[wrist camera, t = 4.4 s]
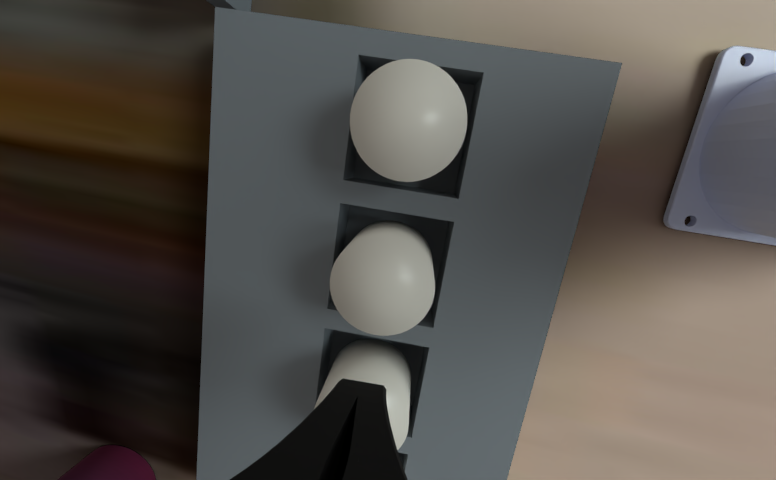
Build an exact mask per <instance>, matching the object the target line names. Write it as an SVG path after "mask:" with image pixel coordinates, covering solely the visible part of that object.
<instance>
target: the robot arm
mask: <svg viewBox="0 0 776 480" xmlns="http://www.w3.org/2000/svg"><path fill="white" fill-rule="evenodd" d="M742 56H743V57H744V58H745V59H746V61H745V64H744V66H742V65H741V63H740V58H741V57H742ZM688 216H690V218H691V219H690V222H689V223H688V224H687V225H685V219H686V217H688ZM663 221H664V224H665V225H666V226H667V227H669V228H672V229H675V230H682V231H688V232H694V233H700V234H706V235H712V236H719V237H725V238H731V239H737V240H743V241H750V242H756V243H762V244H768V245H774V246H776V51H774V50H767V49H759V48H752V47H744V46H732V47H729V48H726V49H724V50H722V51H721V52H720V53H719V54H718V56H717V58H716V60H715V63H714V66H713V69H712V72H711V75H710V78H709V81H708V84H707V87H706V90H705V93H704V96H703V99H702V102H701V105H700V108H699V111H698V114H697V117H696V120H695V123H694V126H693V129H692V132H691V135H690V139H689V142H688V145H687V148H686V151H685V154H684V157H683V160H682V163H681V166H680V169H679V172H678V175H677V178H676V181H675V184H674V187H673V190H672V193H671V196H670V199H669V202H668V205H667V208H666V211H665V214H664V218H663ZM230 480H408V479H407V477H406V474H405V471H404V469H403V466H402V463H401V460H400V457H399V454H398V451H397V447H396V444H395V440H394V437H393V433H392V429H391V425H390V420H389V415H388V409H387V401H386V388H385V387H384V385H379V384H373V383H367V382H361V381H355V380H349V379H344V378H343V379H341V380H340V381H339V382H338V383H337V384H336V385H335V387H334V388H333V389H332V390H331V392H330V393H329V394H328V395H327V396H326V397H325V398H324V400H323V401H322V402H321V403H320V404H319V405H318V406H317V407H316V408H315V409H314V410H313V411H312V412H311V413H310V414H309V415H308V416H307V417H306V418H305V419H304V420H303V421H302V422H301V423H300V424H299V425H298V426H297V427H296V428H295V429H294V430H293V431H291V432H290V433H289V434H288V435H287V436H286V437H285V438H284V439H283V440H281V441H280V442H279V443H278V444H277V445H276V446H274V447H273V448H272V449H271V450H269V451H268V452H267V453H266V454H264V455H263V456H262V457H261V458H259V459H258V460H257V461H255V462H254V463H253V464H251V465H250V466H249V467H247V468H246V469H244V470H243V471H241V472H240V473H239V474H237V475H236V476H234V477H233V478H231V479H230Z"/></svg>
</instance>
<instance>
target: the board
mask: <svg viewBox="0 0 776 480" xmlns="http://www.w3.org/2000/svg"><path fill="white" fill-rule="evenodd" d="M401 59H419V60H423V61H427V62H430V63H432V64H434V65H436V66H438V67H440V68H441V69H443V70H444V71H445V72H447V73H448V74H449V75H450V76H451V77H452V78H453V80H454V81H455V82H456V84H457V85H458V87H459V89H460V90H461V92H462V95H463V97H464V100H465V104H466V109H467V130H466V134H465V138H464V141H463V144H462V146H461V148H460V150H459V152H458V153H457V155H456V156H455V158H454V159H453V160H452V161H451V162H450V164H449V165H448V166H447V167H445V168H444V169H443V170H442V171H440V172H439V173H437V174H435V175H433V176H431V177H429V178H427V179H423V180H420V181H414V182H402V181H395V180H391V179H388V178H386V177H383V176H382V175H380V174H378V173H376V172H375V171H374V170H372V169H371V168H370V167H369V166H368V165H367V164H366V163H365V162H364V161H363V160H362V158H361V157H360V155H359V154H358V152H357V150H356V148H355V146H354V143H353V140H352V136H351V131H350V112H351V107H352V103H353V100H354V97H355V95H356V93H357V91H358V89H359V88H360V86H361V84H362V83H363V82H364V81H365V79H366V78H367V77H368V76H369V75H370V74H371V73H373V72H374V71H375V70H377V69H378V68H379V67H381V66H383V65H385V64H387V63H390V62H393V61H396V60H401ZM621 65H622V63H618V62H611V61H603V60H596V59H589V58H582V57H574V56H567V55H560V54H553V53H545V52H538V51H531V50H524V49H517V48H509V47H502V46H495V45H488V44H480V43H473V42H466V41H459V40H451V39H444V38H437V37H430V36H422V35H415V34H408V33H401V32H394V31H386V30H379V29H372V28H365V27H357V26H350V25H343V24H336V23H328V22H321V21H314V20H307V19H300V18H292V17H285V16H278V15H271V14H263V13H256V12H249V11H242V10H234V9H227V8H220V7H215V23H214V48H213V74H212V99H211V124H210V150H209V175H208V200H207V226H206V251H205V276H204V302H203V327H202V352H201V378H200V403H199V428H198V454H197V479H196V480H230V479H231V478H233V477H234V476H236V475H237V474H239V473H240V472H241V471H243V470H244V469H246V468H247V467H249V466H250V465H251V464H253V463H254V462H255V461H257V460H258V459H259V458H261V457H262V456H263V455H264V454H266V453H267V452H268V451H269V450H271V449H272V448H273V447H274V446H276V445H277V444H278V443H279V442H280V441H281V440H283V439H284V438H285V437H286V436H287V435H288V434H289V433H290V432H291V431H293V430H294V429H295V428H296V427H297V426H298V425H299V424H300V423H301V422H302V421H303V420H304V419H305V418H306V417H307V416H308V415H309V414H310V413H311V412H312V411H313V410H314V408H315V405H316V402H317V400H318V397H319V395H320V393H321V391H322V388H323V386H324V384H325V381H326V379H327V377H328V374H329V372H330V370H331V368H332V365H333V363H334V361H335V358H336V357H337V355H338V353H339V352H340V351H341V350H342V349H343V348H344V347H345V346H346V345H348V344H350V343H351V342H354V341H356V340H360V339H378V340H382V341H385V342H388V343H389V344H391V345H393V346H394V347H396V348H397V349H398V350H399V351H400V352H401V353H402V354H403V355H404V357H405V358H406V360H407V362H408V364H409V367H410V371H411V388H410V408H409V427H408V433H407V437H406V439H405V441H404V443H403V444H402V446H401V447H400V448H399V449H398V450H397V451H398V454H399V457H400V460H401V463H402V466H403V469H404V471H405V474H406V477H407V479H408V480H507V477H508V473H509V469H510V466H511V462H512V459H513V455H514V451H515V448H516V444H517V441H518V437H519V433H520V430H521V426H522V422H523V419H524V415H525V412H526V408H527V404H528V401H529V397H530V394H531V390H532V386H533V383H534V379H535V376H536V372H537V368H538V365H539V361H540V357H541V354H542V350H543V347H544V343H545V339H546V336H547V332H548V329H549V325H550V321H551V318H552V314H553V311H554V307H555V303H556V300H557V296H558V292H559V289H560V285H561V282H562V278H563V274H564V271H565V267H566V264H567V260H568V256H569V253H570V249H571V246H572V242H573V238H574V235H575V231H576V228H577V224H578V220H579V217H580V213H581V209H582V206H583V202H584V199H585V195H586V191H587V188H588V184H589V181H590V177H591V173H592V170H593V166H594V163H595V159H596V155H597V152H598V148H599V144H600V141H601V137H602V134H603V130H604V126H605V123H606V119H607V116H608V112H609V108H610V105H611V101H612V98H613V94H614V90H615V87H616V83H617V79H618V76H619V72H620V69H621ZM384 220H394V221H399V222H403V223H406V224H408V225H410V226H412V227H413V228H415V229H416V230H417V231H418V232H419V233H421V235H422V236H423V237H424V238H425V240H426V241H427V243H428V245H429V247H430V250H431V253H432V260H433V270H434V279H435V294H434V299H433V303H432V305H431V307H430V310H429V311H428V313H427V314H426V316H425V317H424V318H423V319H422V320H421V321H420V322H419V323H418V324H417V325H416V326H414V327H413V328H411V329H409V330H407V331H405V332H403V333H400V334H396V335H389V336H379V335H373V334H369V333H366V332H363V331H361V330H359V329H357V328H355V327H354V326H352V325H351V324H349V323H348V322H347V321H346V320H345V319H344V318H343V317H342V316H341V315H340V313H339V312H338V310H337V309H336V307H335V305H334V302H333V300H332V297H331V292H330V276H331V271H332V268H333V265H334V263H335V261H336V259H337V258H338V256H339V255H340V254H341V252H342V251H343V250H344V249H345V248H346V247H347V245H348V244H349V243H350V242H351V241H352V240H353V239H354V237H355V236H356V235H357V234H358V233H359V232H360V231H361V230H362V229H364V228H365V227H367V226H368V225H370V224H372V223H375V222H378V221H384Z"/></svg>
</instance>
